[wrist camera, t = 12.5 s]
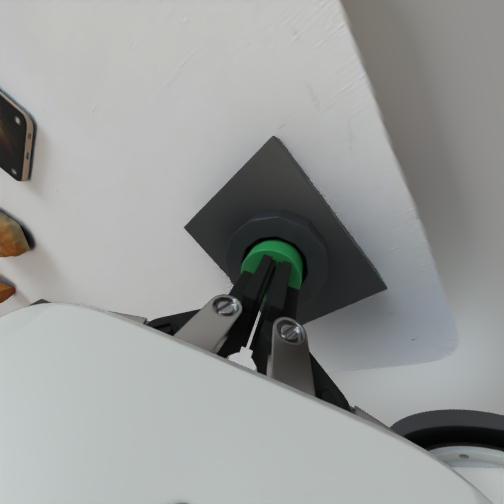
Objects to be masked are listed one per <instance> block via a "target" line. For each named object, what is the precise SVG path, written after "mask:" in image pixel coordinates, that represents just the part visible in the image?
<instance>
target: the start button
mask: <svg viewBox="0 0 504 504" xmlns="http://www.w3.org/2000/svg"><path fill="white" fill-rule="evenodd" d="M264 254H266V255H269V256H272V257H273V260H276V261H275V264H274V267H273V271H272V274H271V277H270V280H269V283H268V286H267V289H266V292H265V295H264V298H263V301H266V298H267V295H268V292H269V289H270V286H271V283H272V280H273V277H274V274H275V271H276V268H277V265H278V262H283V261H286V262H289V263H292V267H291V272H290V277H289V282H288V286H290V287H293V288H296V289H300V286H301V282H302V271H303V262H302V258H301V255H300V254H299V252H298V251H297V249H296V248H295V247H294V246H292V245H291V244H289V243H288V242H286V241H283V240H279V239H267V240H263V241H261V242H259V243H257V244H256V245H255V246H254V247H253V248H252V250H251V251H250V253H249V254H248V256H247V257H246V259H245V260H244V262H243V264H242V267H241V274H242V272H243V271H244V270H245V271H248V272H251V273H254V272H255V270H256V269H257V267H258V265H259V263H260V261H261V259H262V257H263V255H264Z"/></svg>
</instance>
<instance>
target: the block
mask: <svg viewBox="0 0 504 504" xmlns="http://www.w3.org/2000/svg"><path fill="white" fill-rule="evenodd" d="M184 228H185V229H186V231H187V232H188V233H189V234H190V235H191V236H192V237H193V238H194V239H195V240H196V242H197V243H198V244H199V245H200V246H201V247H202V248H203V249H204V250H205V251H206V253H207V254H208V255H209V256H210V257H211V258H212V259H213V260H214V261H215V262H216V264H217V265H218V266H219V267H220V268H221V269H222V270H223V271H224V272H225V273H226V275H227V276H228V277H229V278H230V280H231V282H232V283H233V285H235V283H236V282H237V280H238V278H239V277H240V275H241V267H242V264H243V262H244V260H245V259H246V257H247V256H248V254H249V253H250V251H251V250H252V248H253V247H254V246H255V245H256V244H257V243H259V242H261V241H263V240H267V239H279V240H283V241H286V242H288V243H289V244H291V245H292V246H294V247H295V248H296V249H297V251H298V252H299V254H300V255H301V258H302V262H303V271H302V282H301V286H300V289H299V295H298V304H297V314H296V321H297V322H299V323H300V324H301V325H303V324H305V323H307V322H310V321H312V320H315V319H317V318H319V317H322V316H324V315H326V314H329V313H331V312H333V311H336V310H338V309H340V308H343V307H345V306H348V305H350V304H352V303H355V302H357V301H359V300H362V299H364V298H366V297H369V296H371V295H374V294H376V293H378V292H381V291H383V290H385V289H387V287H386V285H385V283H384V281H383V280H382V278H381V276H380V274H379V273H378V271H377V270H376V268H375V267H374V266H373V264H372V263H371V262H370V260H369V259H368V258H367V256H366V255H365V254H364V252H363V251H362V250H361V248H360V247H359V246H358V244H357V243H356V242H355V240H354V239H353V237H352V236H351V235H350V233H349V232H348V231H347V229H346V228H345V227H344V225H343V224H342V223H341V221H340V220H339V219H338V217H337V216H336V215H335V213H334V212H333V211H332V209H331V208H330V206H329V205H328V204H327V202H326V201H325V200H324V198H323V197H322V196H321V194H320V193H319V192H318V190H317V189H316V188H315V186H314V185H313V184H312V182H311V181H310V180H309V178H308V177H307V176H306V174H305V173H304V171H303V170H302V169H301V167H300V166H299V165H298V163H297V162H296V161H295V159H294V158H293V157H292V155H291V154H290V153H289V151H288V150H287V149H286V147H285V146H284V145H283V143H282V142H281V140H280V139H278V138H277V137H275V136H272V137H271V138H270V139H269V140H268V141H267V142H266V143H265V144H264V146H263V147H262V148H261V149H260V150H259V151H258V152H257V153H256V154H255V155H254V156H253V157H252V158H251V159H250V160H249V161H248V162H247V163H246V164H245V165H244V166H243V167H242V168H241V169H240V170H239V171H238V172H237V173H236V174H235V175H234V176H233V177H232V178H231V179H230V180H229V181H228V182H227V184H226V185H225V186H224V187H223V188H222V189H221V190H220V191H219V192H218V193H217V194H216V195H215V196H214V197H213V198H212V199H211V200H210V201H209V202H208V203H207V204H206V205H205V206H204V207H203V208H202V209H201V210H200V211H199V212H198V213H197V214H196V215H195V216H194V217H193V218H192V219H191V220H190V222H189V223H188V224H187V225H186V226H185V227H184ZM264 304H265V301H262V304H261V306H260V309H259V311H260V312H262V309H263V307H264Z"/></svg>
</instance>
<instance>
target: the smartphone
mask: <svg viewBox="0 0 504 504" xmlns="http://www.w3.org/2000/svg"><path fill="white" fill-rule="evenodd" d="M32 138H33V123H32V121H31V119H30V117H29V116H28V115H27V114H26V113H25V112H24V111H23V110H21V109H20V108H19V107H18V106H17V105H16V104H14V103H13V102H12V101H11V100H10V99H9V98H7V97H6V96H5V95H4V94H3V93H2V92H0V167H1V168H2V169H3V170H4V171H6V172H7V173H8V174H9V175H11V176H12V177H13V178H14V179H16V180H17V181H26V180H27V179H28V174H29V165H30V156H31V147H32Z"/></svg>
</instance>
